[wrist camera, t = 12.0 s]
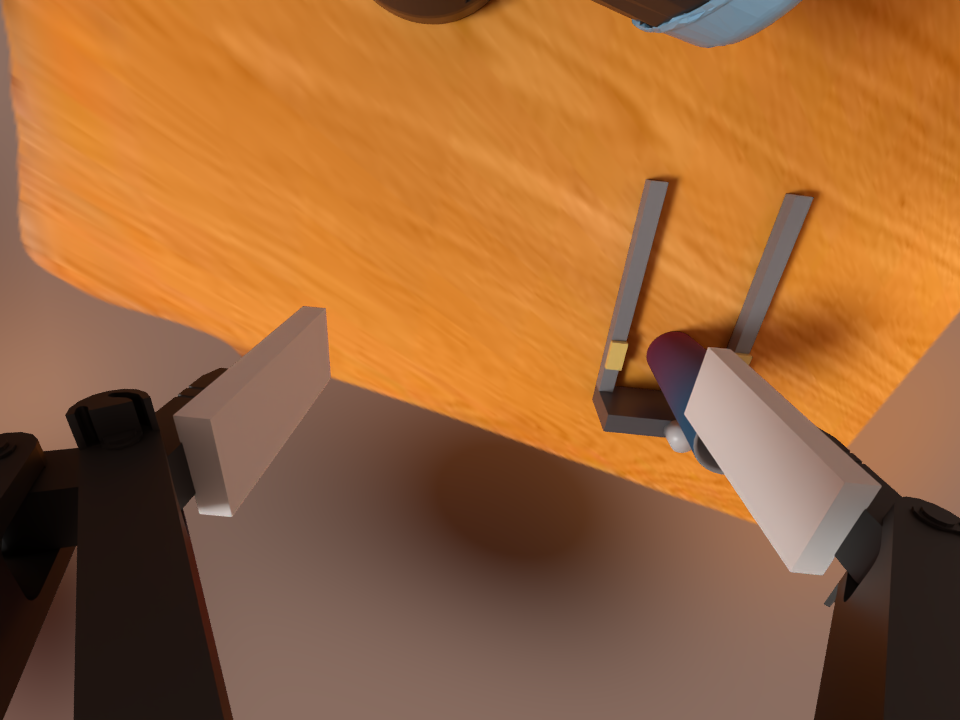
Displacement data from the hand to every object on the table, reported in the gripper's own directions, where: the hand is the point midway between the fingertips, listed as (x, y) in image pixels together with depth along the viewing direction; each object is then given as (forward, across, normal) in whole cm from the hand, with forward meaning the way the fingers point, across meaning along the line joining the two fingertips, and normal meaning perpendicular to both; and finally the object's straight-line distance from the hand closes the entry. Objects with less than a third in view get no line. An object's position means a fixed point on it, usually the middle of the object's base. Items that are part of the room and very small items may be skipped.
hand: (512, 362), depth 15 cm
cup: (+29, +19, -11) cm, 36 cm away
